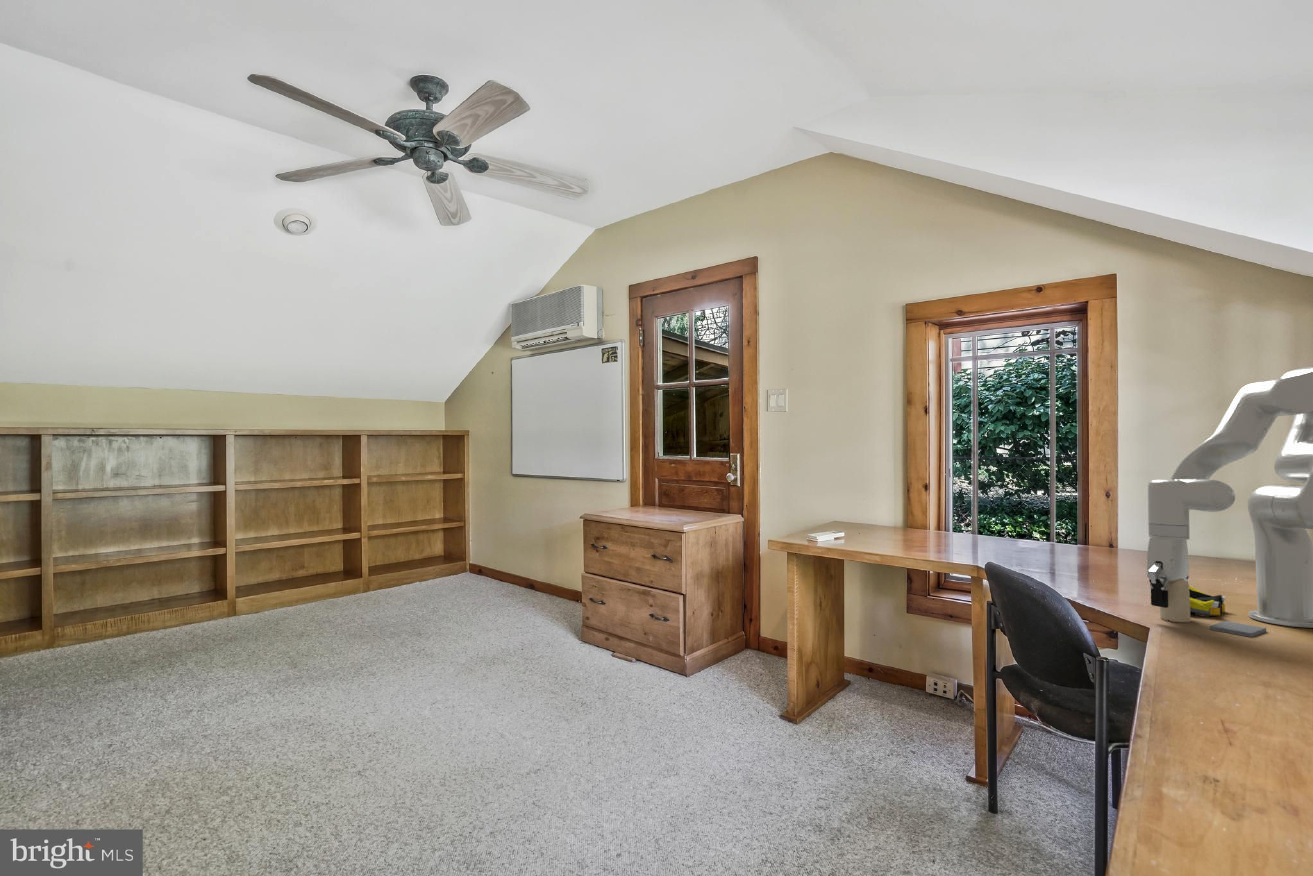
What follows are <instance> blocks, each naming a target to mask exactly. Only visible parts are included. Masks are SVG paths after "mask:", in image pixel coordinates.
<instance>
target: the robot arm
mask: <svg viewBox="0 0 1313 876" xmlns="http://www.w3.org/2000/svg"><path fill="white" fill-rule="evenodd" d="M1284 416H1292V421H1291V426H1290V428H1289V431H1288V433H1287V435H1286V437H1285V439H1284V442H1283V443H1282V445H1281V448H1280V449H1279V452H1278V454H1277V456H1276V459H1275V460H1274V465H1273V467H1274V471H1275V473H1276V475H1277V476H1278V477H1279V478H1280V479H1283V480H1285V481H1288V482H1291V483H1299V484H1300V483H1301V484H1304V485H1296V484H1279V483H1278V484H1269V485H1263V486H1260V487H1258V488H1256V489H1255V490H1254V491H1252V493H1250V495H1249V497H1248V500H1247V511H1248V514H1249V517H1250V520H1251V524H1252V529H1253V535H1254V546H1255V547H1254V550H1255V551H1254V552H1255V578H1256V579H1255V580H1256V599H1257V600H1256V602H1257V603H1256V604H1257V609H1252V610H1248V616H1249V617H1250V618H1251V619H1254V620H1256V621H1259V622H1263V623H1267V624H1273V625H1279V626H1285V627H1292V628H1293V627H1295V628H1309V629H1311V628H1313V542H1312V539H1311V536H1310V534H1309V533H1308V531H1307V529H1308V530H1313V365H1312V366H1304V367H1300V368H1299V367H1298V368H1295V369H1292V370H1290V371H1287V372H1285V373H1284V374H1283V375H1282V376H1280V378H1276V379H1268V380H1261V381H1256V382H1251V383H1247V384H1246V385H1244V386H1242V387H1241V388H1240V389H1239V390H1238V392H1237V393H1236V395H1235V397H1234V398H1233V400H1232V401H1231V403H1230V405H1229V407H1228V408H1227V410H1226V412H1225V413H1224V415H1223V416H1222V418H1221V420H1220V422H1219V423H1218V425H1217V427H1216V428H1215V430H1214V432H1213V433H1212V435H1211V436H1210V437H1208V439H1206V440H1205V441H1203V442H1201V444H1199V445H1198V446H1197V447H1196V448H1195V449H1193V451H1191V452H1190V453H1188V454H1187V455H1186V456H1185V457H1184V458H1183V459H1182V460H1181V461H1180V463H1179V464H1178V466H1177V467H1176V469H1175V470H1174V472H1173V474H1172V475H1171V477H1170V479H1152V480H1150V482H1149V483H1148V485H1147V503H1148V505H1147V507H1148V508H1147V509H1148V514H1147V515H1148V517H1147V519H1148V537H1149V540H1148V545H1147V556H1146V577H1147V578H1148V579H1149V580H1148V581H1149V588H1150V605H1151V606H1153V607H1159V608H1160V607H1164V608H1167V607H1168V590H1166V588H1167V585H1168V583H1169V581H1177V580H1181V579H1182V578H1183V580H1185V581H1186V582H1187V583H1188V584H1189V581H1188V579H1189V578H1190V575H1189V571H1190V566H1189V565H1190V564H1189V563H1190V562H1189V548H1188V540H1190V535H1191V534H1190V511H1191V510H1192V511H1193V510H1194V511H1200V512H1206V513H1207V512H1209V513H1217V512H1222V511H1225V510H1227V509H1229V508H1230V507H1232V506H1233V504H1234V503H1235V501H1236V494H1235V491H1234V489H1233V488H1232V487H1231V486H1230V485H1228V484H1227V483H1226V482H1223V481H1220V480H1215V479H1210V478H1211V477H1212V476H1213V475H1214V474H1215V473H1216V472H1218V471H1219V470H1220V469H1221V468H1223V467H1225V466H1226V465H1229V464H1231V463H1233V462H1235V461H1239V460H1240V459H1243V458H1246V457H1248V456H1250V455H1252V454H1253V453H1255V452H1256V451H1257V450H1259V448H1260V445H1261V444H1262V443H1263V441H1264V439H1265V437H1266V436H1267V434H1268V432H1269V431H1270V430H1271V428H1272V426H1273V424H1274V423H1275V421H1276V419H1277V418H1278V417H1284ZM1161 581H1163V583H1161Z"/></svg>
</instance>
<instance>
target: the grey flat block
mask: <svg viewBox="0 0 1313 876" xmlns="http://www.w3.org/2000/svg"><path fill="white" fill-rule="evenodd" d="M1209 630H1211V631H1217V632H1221V633H1227V634H1231V635H1237V636H1243V637H1247V636H1248V637H1249V638H1253V637H1255V636H1259V635H1261V634H1264V633H1267V627H1262V626H1256V625H1251V624H1246V623H1245V624H1244V623H1240V622H1235V621H1234V622H1233V621H1228V620H1224V621H1221V622H1217V623H1215V624H1211V625H1209ZM1248 637H1247V638H1248Z"/></svg>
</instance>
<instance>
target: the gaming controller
mask: <svg viewBox="0 0 1313 876" xmlns="http://www.w3.org/2000/svg"><path fill="white" fill-rule="evenodd" d="M1189 594H1190V613H1191V612H1192V613H1194V614H1195V615H1196V614H1197V615H1196V616H1198V615H1204V616H1203V617H1205V616H1208V617H1210V616H1215V617H1216V616H1221V614H1222V613H1223V612H1226V605H1225V603H1224V602H1225V599H1226V596H1225V595H1221V594H1218V595H1217V594H1216V595H1214V596H1213V595H1211V594H1210V595H1209V594H1207V593H1204V592H1202V591H1201V590H1198V589H1197V588H1195V587H1192V586H1191V585H1189ZM1209 615H1210V616H1209Z"/></svg>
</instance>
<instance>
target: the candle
mask: <svg viewBox="0 0 1313 876" xmlns="http://www.w3.org/2000/svg"><path fill="white" fill-rule="evenodd" d="M1161 583H1163V581H1161ZM1189 586H1190V584H1189V582H1188V583H1187V582H1186V581H1185V580H1183V578H1182V579H1181V580H1177V581H1169V583H1168V585H1167V588H1166V590H1168V607H1167V608H1164V607H1159V616H1160V619H1162V620H1164V621H1168V620H1169V622H1174V623H1190V622H1191V612H1190V594H1189Z"/></svg>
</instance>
